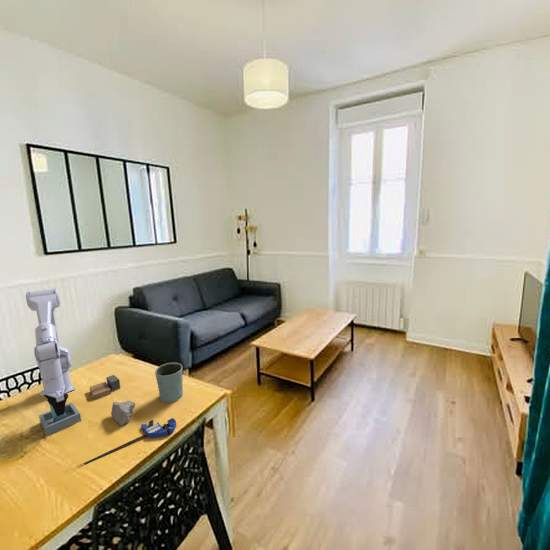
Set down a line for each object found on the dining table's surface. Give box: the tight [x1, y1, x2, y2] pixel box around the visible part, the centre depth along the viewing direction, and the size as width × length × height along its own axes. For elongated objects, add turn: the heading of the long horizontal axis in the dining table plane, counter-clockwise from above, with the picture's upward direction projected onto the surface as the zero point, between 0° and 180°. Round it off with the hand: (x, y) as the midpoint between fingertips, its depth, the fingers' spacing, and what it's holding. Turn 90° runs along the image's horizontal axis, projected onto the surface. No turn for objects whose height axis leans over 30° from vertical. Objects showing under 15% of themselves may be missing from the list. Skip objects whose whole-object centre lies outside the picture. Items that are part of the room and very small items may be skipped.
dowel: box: [48, 403, 67, 423], centre depth 107 cm, size 4×4×8 cm
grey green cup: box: [154, 362, 184, 404], centre depth 119 cm, size 10×10×12 cm
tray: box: [38, 402, 82, 437], centre depth 107 cm, size 10×10×3 cm
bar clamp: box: [77, 417, 177, 469], centre depth 95 cm, size 32×2×10 cm
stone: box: [110, 399, 136, 426], centre depth 109 cm, size 10×8×6 cm
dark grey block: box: [105, 374, 121, 392], centre depth 128 cm, size 6×3×4 cm, turn 47°
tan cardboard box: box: [89, 381, 112, 401], centre depth 125 cm, size 8×6×2 cm
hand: (58, 411), depth 107 cm, fingers open, 4 cm apart
